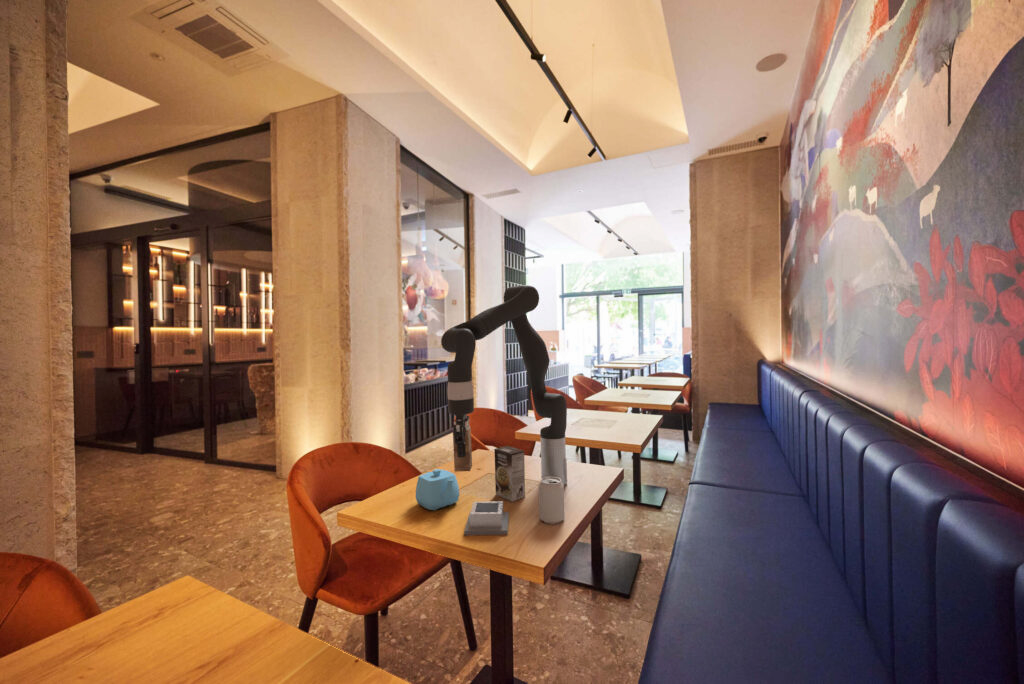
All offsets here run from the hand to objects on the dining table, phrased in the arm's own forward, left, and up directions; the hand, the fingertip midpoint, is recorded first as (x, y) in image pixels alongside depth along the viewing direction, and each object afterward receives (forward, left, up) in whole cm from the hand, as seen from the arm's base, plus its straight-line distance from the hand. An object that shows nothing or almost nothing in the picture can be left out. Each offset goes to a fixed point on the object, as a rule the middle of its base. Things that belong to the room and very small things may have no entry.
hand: (463, 454), depth 121 cm
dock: (-7, +1, -21) cm, 22 cm away
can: (-26, -2, -21) cm, 33 cm away
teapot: (+10, -14, -21) cm, 27 cm away
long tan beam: (0, 0, -4) cm, 4 cm away
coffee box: (-13, -21, -21) cm, 32 cm away
